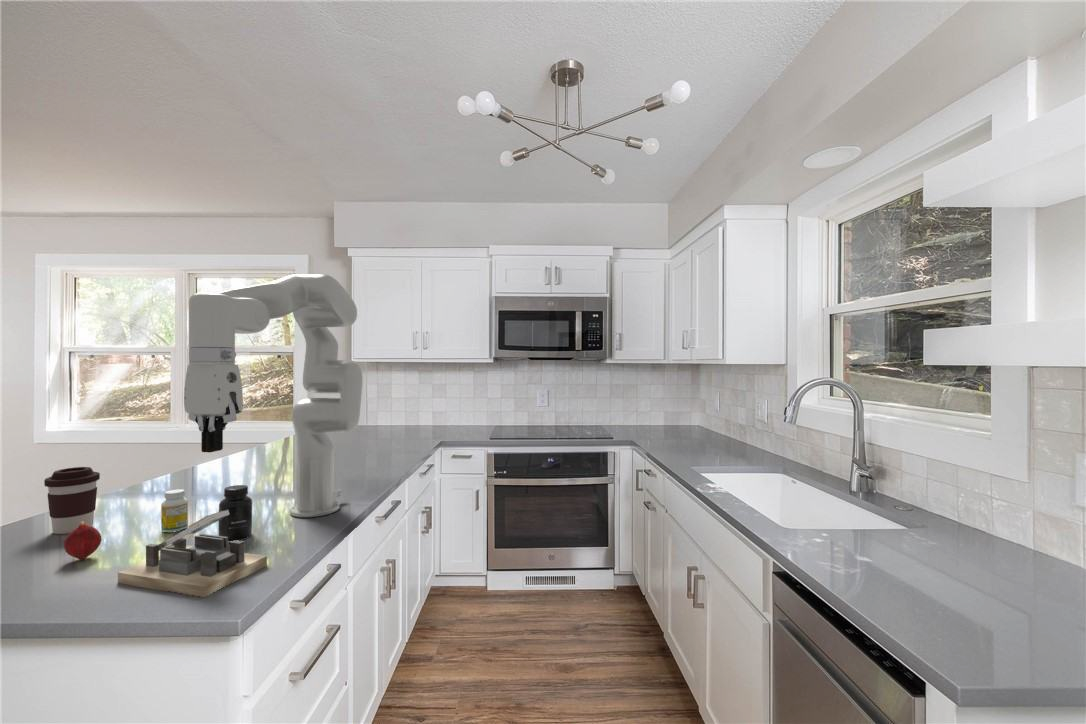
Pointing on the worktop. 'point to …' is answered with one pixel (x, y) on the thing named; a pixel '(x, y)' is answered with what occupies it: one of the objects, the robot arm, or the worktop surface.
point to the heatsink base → (191, 580)
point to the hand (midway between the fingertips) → (212, 450)
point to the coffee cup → (71, 498)
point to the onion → (82, 541)
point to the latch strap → (194, 528)
